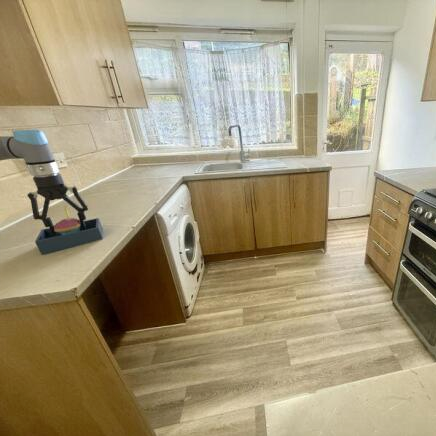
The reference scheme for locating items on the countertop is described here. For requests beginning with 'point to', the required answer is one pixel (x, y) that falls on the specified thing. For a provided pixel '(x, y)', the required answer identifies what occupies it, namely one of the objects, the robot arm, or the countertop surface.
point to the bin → (69, 237)
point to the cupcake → (67, 225)
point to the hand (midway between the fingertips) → (70, 230)
